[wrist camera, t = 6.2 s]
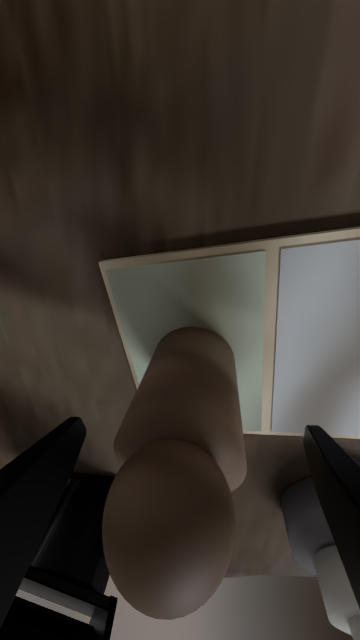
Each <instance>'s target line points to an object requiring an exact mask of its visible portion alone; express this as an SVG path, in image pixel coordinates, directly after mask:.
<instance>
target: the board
mask: <svg viewBox="0 0 360 640" xmlns="http://www.w3.org/2000/svg"><path fill="white" fill-rule="evenodd" d="M98 263H99V267H100V270H101V273H102V276H103V280H104V283H105V286H106V289H107V293H108V296H109V299H110V303H111V306H112V309H113V312H114V316H115V319H116V322H117V326H118V329H119V332H120V335H121V339H122V342H123V345H124V348H125V352H126V355H127V358H128V362H129V365H130V368H131V371H132V375H133V378H134V381H135V384H136V388H137V389H138V387H139V385H140V382H141V380H142V378H143V376H144V374H145V371H146V369H147V367H148V365H149V363H150V361H151V358H152V356H153V354H154V352H155V350H156V347H157V345H158V343H159V342H160V340H161V339H162V338H163V337H164V336H165V335H166V334H168V333H169V332H171V331H173V330H175V329H178V328H182V327H201V328H205V329H208V330H211V331H213V332H215V333H217V334H218V335H220V336H221V337H222V338H223V339H224V340H225V341H226V342H227V343H228V344H229V346H230V347H231V349H232V351H233V354H234V358H235V367H236V375H237V384H238V393H239V402H240V410H241V419H242V428H243V433H245V434H267V435H289V436H304V431H305V426H306V425H319V426H320V427H321V428H323V429H324V430H325V431H326V432H327V433H328V434H329V435H330V436H331V437H333V438H355V439H360V226H358V227H351V228H343V229H336V230H328V231H320V232H313V233H305V234H298V235H290V236H283V237H275V238H267V239H260V240H252V241H245V242H237V243H230V244H222V245H215V246H207V247H199V248H192V249H184V250H177V251H169V252H162V253H154V254H146V255H139V256H131V257H124V258H116V259H109V260H103V261H101V262H98Z"/></svg>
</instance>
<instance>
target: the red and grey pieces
mask: <svg viewBox="0 0 360 640" xmlns="http://www.w3.org/2000/svg"><path fill="white" fill-rule="evenodd" d="M281 507H282V512H283V516H284V521H285V526H286V530H287V535H288V540H289V544H290V549H291V554H292V557H293V559H294V561H295V562H296V563H297V564H298V565H299V566H300V567H302V568H303V569H305V570H306V571H308V572H310V573H312V574H314V575H316V571H315V567H314V564H313V557H314V555H315V554H316V553H317V552H318V551H320V550H322V549H324V548H326V547H329V546H333V545H335V542H334V539H333V537H332V534H331V531H330V529H329V526H328V523H327V521H326V518H325V515H324V513H323V510H322V507H321V505H320V502H319V499H318V496H317V492H316V489H315V485H314V482H313V478H312V477H308V478H305V479H303V480H300V481H298V482H296V483H294V484H293V485H291V486H290V487H289V488H287V489H286V490H285V492H284V493H283V495H282V497H281ZM316 576H317V575H316Z"/></svg>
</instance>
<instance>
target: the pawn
mask: <svg viewBox="0 0 360 640" xmlns="http://www.w3.org/2000/svg"><path fill="white" fill-rule="evenodd" d="M114 453H115V455H116V458H117V460H118V462H119V464H120V465H121V468H120V470H119V471H118V473H117V475H116V476H115V478H114V480H113V482H112V485H111V487H110V490H109V493H108V496H107V499H106V503H105V507H104V513H103V522H102V541H103V551H104V555H105V560H106V564H107V567H108V570H109V573H110V576H111V578H112V580H113V582H114V584H115V585H116V587H117V589H118V591H119V592H120V593H121V595H122V596H123V597H124V599H125V600H126V601H127V602H128V603H129V604H130V605H131V606H132V607H134V608H135V609H136V610H138V611H140V612H141V613H143V614H145V615H147V616H149V617H152V618H156V619H167V620H170V619H176V618H180V617H184V616H186V615H188V614H190V613H192V612H194V611H196V610H197V609H198V608H200V607H201V606H202V605H204V604H205V603H206V602H207V600H208V599H209V598H210V597H211V596H212V595H213V594H214V592H215V591H216V590H217V588H218V587H219V585H220V584H221V582H222V580H223V577H224V575H225V573H226V571H227V569H228V566H229V563H230V560H231V556H232V552H233V547H234V539H235V511H234V504H233V499H232V495H231V492H232V491H233V490H235V489H236V488H237V487H239V486H240V485H241V483H242V482H243V480H244V479H245V476H246V473H247V463H246V454H245V445H244V437H243V428H242V419H241V410H240V402H239V393H238V384H237V375H236V367H235V358H234V354H233V351H232V349H231V347H230V346H229V344H228V343H227V342H226V341H225V340H224V339H223V338H222V337H221V336H220V335H218V334H217V333H215V332H213V331H211V330H208V329H205V328H201V327H182V328H178V329H175V330H173V331H171V332H169V333H168V334H166V335H165V336H164V337H163V338H162V339H161V340H160V342H159V343H158V345H157V347H156V350H155V352H154V354H153V356H152V358H151V361H150V363H149V365H148V367H147V369H146V371H145V374H144V376H143V378H142V380H141V382H140V385H139V387H138V389H137V391H136V393H135V396H134V398H133V400H132V402H131V404H130V406H129V409H128V411H127V413H126V415H125V417H124V420H123V422H122V424H121V426H120V428H119V431H118V433H117V435H116V437H115V441H114Z"/></svg>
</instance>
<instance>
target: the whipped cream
mask: <svg viewBox="0 0 360 640" xmlns="http://www.w3.org/2000/svg"><path fill="white" fill-rule="evenodd" d="M313 564H314V567H315V571H316V575H317V578H318V582H319V586H320V589H321V593H322V597H323V601H324V604H325V608H326V612H327V615H328V619H329V621H330V623H331V624H332V625H333V626H335V627H336V628H338V629H339V630H341V631H343V632H345V633H348V634H351V635H352V637H353V640H360V609H359V606H358V603H357V601H356V598H355V595H354V593H353V590H352V587H351V585H350V582H349V579H348V577H347V574H346V571H345V569H344V566H343V563H342V561H341V558H340V555H339V553H338V550H337V547H336V545H333V546H329V547H326V548H324V549H322V550H320V551H318V552H317V553H316V554H315V555H314V557H313Z"/></svg>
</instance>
